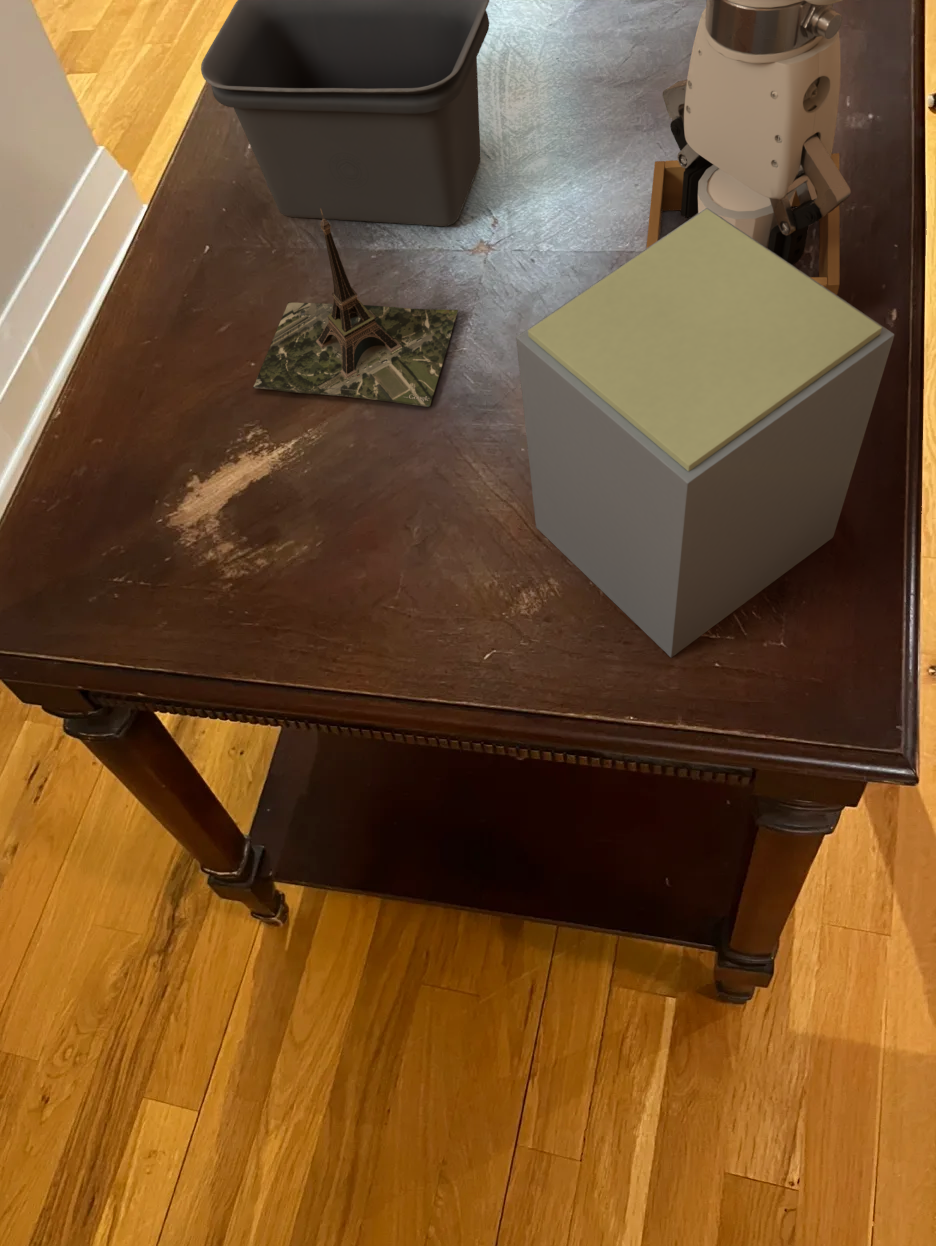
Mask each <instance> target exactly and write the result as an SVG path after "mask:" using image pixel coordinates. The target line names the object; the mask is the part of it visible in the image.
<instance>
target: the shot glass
mask: <svg viewBox="0 0 936 1246" xmlns="http://www.w3.org/2000/svg"><path fill="white" fill-rule="evenodd" d="M795 191H796V189H794V190H793V191H792V192H790V193H789V194H787V195H788V198H789V202H790V205H792V202H793V198H794V195H795ZM705 208H708V209H710V210H711V211H713V212H714V213H716V214H717V215H719V216H720V217H722V218H723V219H725V220H726V221H728V222H729V223H731V224H732V225H733V226H735V227H736V228H738V229H739V230H741V231H742V232H744V233H745V234H747V235H748V236H750V237H751V238H753V239H754V240H756V241H757V242H759V243H760V244H762V245H763V246H765V247H766V248H767V249H768V243H769V237H770V232H771V230H772V229H773V228H774V227H775V226H776V225H778V224H777V221H776V218H775V214H774V211H773V208H772V205H771V202H770V199H769V198H768V197H765V196H763V195H761V194H759V193H757V192H756V191H754V190H752V189H751V188H749V187H748V186H746V185H744V184H743V183H741V182H740V181H738V180H737V179H735V178H733V177H732V176H730V175H729V174H727V173H726V172H724V171H723V170H721V169H720V168H718V167H717V166H715V165H712V166H711V167H709V168H708V169H707V170H706V171H705V172H704V174H703V175H702V177H701V179H700V180H699V182H698V213H700V212H701V211H702V210H704V209H705ZM698 213H697V214H698Z"/></svg>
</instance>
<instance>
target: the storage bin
mask: <svg viewBox="0 0 936 1246" xmlns="http://www.w3.org/2000/svg"><path fill="white" fill-rule="evenodd" d="M489 3H490V0H237V1H236V2H235V3H234V5H233V7H232V8H231V10H230V12H229V14H228V16H227V18H226V19H225V20H224V22H223V25H221V28H220V29H219V31H218V33H217V34H216V36H215V37H214V40H213V41H212V43H211V44H210V47H209V48H208V50H207V51H206V54H205V55H204V57H203V59H202V60H201V61H202V62H201V64H200V72H201V75H202V78H203V79H204V80H205V82H206V83H207V84H209V85H210V86H211V87H210V88H211V92H212V95H213V97H214V99H215V100H216V101H217V103H219V104H220V105H223V106H225V107H227V108H233V110H234V112H235V115H236V116H237V118H238V121H239V123H240V125H241V127H242V130H243V133H244V134H245V137H246V139H247V141H248V143H249V145H250V148H251V150H252V153H253V155H254V157H255V159H256V161H257V164H258V166H259V168H260V171H261V173H262V175H263V177H264V180H265V182H266V185H267V187H268V189H269V191H270V194H271V196H272V198H273V201H274V203H275V206H276V207H277V210H278V212H279V213H280V214H281V215H282V216H285V217H289V218H301V219H302V218H304V219H319V220H320V219H321V220H322V219H323V217H324V219H326V220H338V221H354V222H355V221H356V222H371V223H383V224H384V223H385V224H387V223H388V224H402V225H403V224H405V225H421V226H434V227H435V226H436V227H449V226H452V225H454V224H455V223H456V222H457V221H458V219H459V217H460V215H461V212H462V210H463V207H464V204H465V202H466V200H467V197H468V195H469V192H470V189H471V188H472V184H473V182H474V179H475V177H476V175H477V172H478V170H479V168H480V163H481V158H482V157H481V156H482V155H481V136H480V135H481V133H480V113H479V112H480V111H479V110H480V109H479V108H480V107H479V81H478V80H479V79H478V56H479V53H480V50H481V48H482V46H483V44H484V42H485V39H486V37H487V34H488V32H489V29H490V19H489V15H488V12H487V8H488V6H489ZM320 208H321V210H322V213H323V217H322V214H321V210H320Z"/></svg>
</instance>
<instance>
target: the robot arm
mask: <svg viewBox="0 0 936 1246" xmlns="http://www.w3.org/2000/svg"><path fill="white" fill-rule="evenodd" d="M841 2H844V0H706V4H705V8H704V9H703V10H702V13H701V15H700V18H699V21H698V26H697V29H696V32H695V37H694V41H693V45H692V50H691V55H690V61H689V66H688V72H687V79H683V80H678V81H677V82H674V84H672V85H671V86H669V87H666V89H664V90H663V91H662V98H663V102H664V106H665V109H666V111H667V114H668V118H669V119H671V122H670V124H669V126H670V132H671V134H672V136H673V138H674V140H675V142H676V145H677V147H678V149H679V152H678V154H677V160H678V162H679V164H680V166H681V167H682V168H685V171H684V174H683V190H682V205H681V210H680V215H681V216H682V217H684V218H685V219H691V218H692V217H694V216H695V215H697V214H698V182H699V180H700V179H701V177H702V175H703V174H704V172H705V171H706V170H707V169H708V168H709V167H711V166H712V165H715V166H717V167H718V168H720V169H721V170H723V171H724V172H726V173H727V174H729V175H730V176H732V177H733V178H735V179H737V180H738V181H740V182H741V183H743V184H744V185H746V186H748V187H749V188H751V189H752V190H754V191H756V192H757V193H759V194H761V195H763V196H765V197H768V198H769V199H770V202H771V205H772V208H773V211H774V214H775V218H776V221H777V224H778V225H776V226H775V227H774V228H773V229H772V230H771V232H770V237H769V243H768V249H769V250H770V251H772V252H773V253H775V254H776V255H778V256H779V257H781V258H782V259H784V260H785V261H787V262H788V263H790V264H791V265H793V266H794V264H796V263H798V261H799V260H801V258H802V257H803V255H804V254H805V253H804V252H805V250H806V249H805V248H806V243H807V238H808V232H809V228H810V226H812V225H814V224H815V223H817V222H818V221H819V220H820V219H821V218H823V217H824V216H826V215H827V214H829V213H830V212H831V211H833V210H834V209H835V208H836V207H837V206H839V207H840V205H841V204H842V203H844V202H845V201H846V200H847V199H848V198H850V196H851V192H852V191H851V188H850V186H849V184H848V183H847V181H846V179H845V178H844V176H843V175H842V173H841V172H840V169H839V170H838V168H837V167H836V165H835V164H834V162H833V160H832V159H831V154H833V149H834V141H835V135H836V127H837V123H838V122H837V121H838V112H839V102H840V93H841V92H840V91H841V73H842V72H841V71H842V70H841V69H842V67H841V66H842V63H841V42H840V41H841V39H840V28H841V26H842V24H843V15H842V14H841V13H838V12H837V11H835V8H834V4H837V3H841ZM814 187H815V188H814ZM794 189H796V192H797V195H798V198H799V202H800V206H795V208H793V209H792V206H791V205H790V202H789V198H788V195H787V194H789V193H790V192H792V191H793V190H794ZM815 189H816V191H817V194H816V191H815Z"/></svg>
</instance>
